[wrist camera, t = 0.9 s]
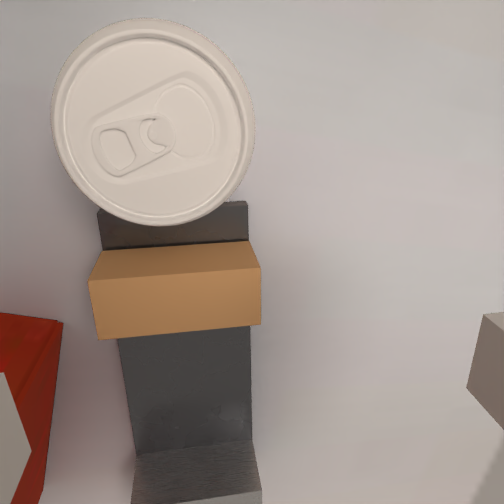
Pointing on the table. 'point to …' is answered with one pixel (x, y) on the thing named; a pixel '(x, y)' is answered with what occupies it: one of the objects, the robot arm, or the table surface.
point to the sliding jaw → (175, 289)
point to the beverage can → (152, 122)
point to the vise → (189, 385)
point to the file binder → (31, 389)
